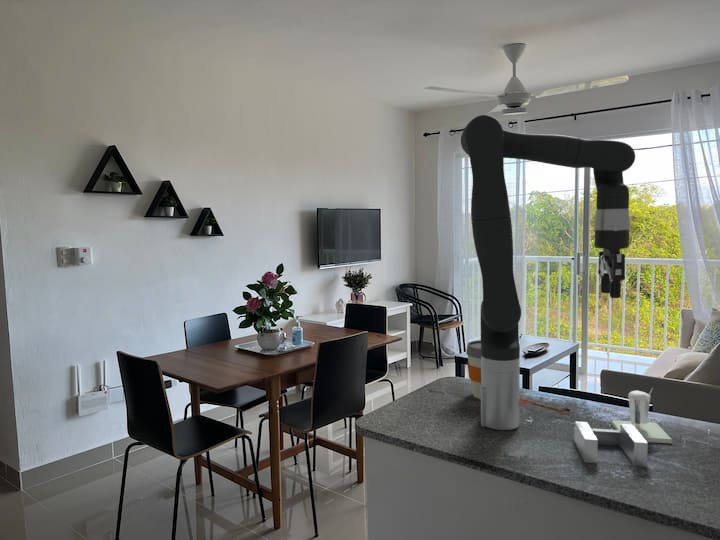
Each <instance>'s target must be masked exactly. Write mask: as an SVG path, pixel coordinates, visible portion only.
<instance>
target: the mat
mask: <svg viewBox="0 0 720 540" xmlns="http://www.w3.org/2000/svg"><path fill="white" fill-rule="evenodd" d="M621 424H630V420H618V419H617V420H614V419H613V420H611V425H612V427H613V429H614V430H620V425H621ZM639 433H640V434H641V435H642V437H643V438H644V439H645V440H646V441H647V443H655V444H656V443H659V444H672V440H673V439H672V438H671V437H670V436H669V435H668V434H667V432H665V430H664V429H663V428H662V427H661V426H660V425H659V424H658V423H657V422H654V421H653V422H652V421H647V429H646V431H645V432H639Z"/></svg>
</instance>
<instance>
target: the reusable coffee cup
mask: <svg viewBox="0 0 720 540" xmlns="http://www.w3.org/2000/svg"><path fill="white" fill-rule="evenodd" d="M466 355H467V364H466V365H467V371H468V378H469V380H470V382H471V383H470V384H471V392H472V396H473V397H474V398H476V399H479V400H481V339H480V340H473V341H469V342H467V345H466Z"/></svg>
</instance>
